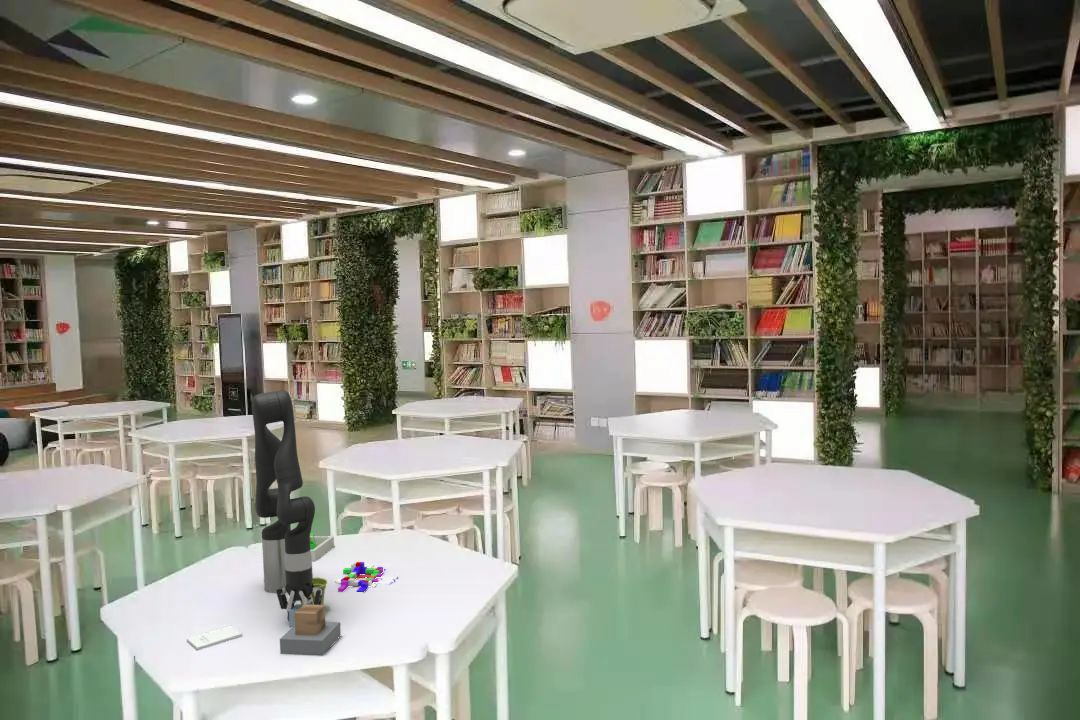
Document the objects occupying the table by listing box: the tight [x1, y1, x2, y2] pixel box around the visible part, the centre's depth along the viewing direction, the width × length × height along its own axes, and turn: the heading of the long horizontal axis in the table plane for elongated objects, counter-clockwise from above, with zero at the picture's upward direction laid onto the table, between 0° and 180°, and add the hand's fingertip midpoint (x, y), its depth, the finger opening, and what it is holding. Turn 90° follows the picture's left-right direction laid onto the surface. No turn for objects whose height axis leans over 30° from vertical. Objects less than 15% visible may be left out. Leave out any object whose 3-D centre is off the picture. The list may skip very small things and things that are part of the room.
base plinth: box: [279, 621, 342, 656], centre depth 211 cm, size 12×12×4 cm
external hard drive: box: [186, 625, 243, 651], centre depth 217 cm, size 2×8×12 cm
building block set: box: [334, 561, 384, 593], centre depth 262 cm, size 25×20×4 cm
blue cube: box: [288, 603, 304, 628], centre depth 225 cm, size 5×5×5 cm
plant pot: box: [299, 577, 328, 605], centre depth 235 cm, size 9×9×9 cm
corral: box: [310, 535, 335, 562], centre depth 292 cm, size 17×17×4 cm
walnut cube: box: [294, 604, 326, 635], centre depth 211 cm, size 6×6×6 cm
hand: (301, 622), depth 226 cm, fingers closed on blue cube, 5 cm apart
